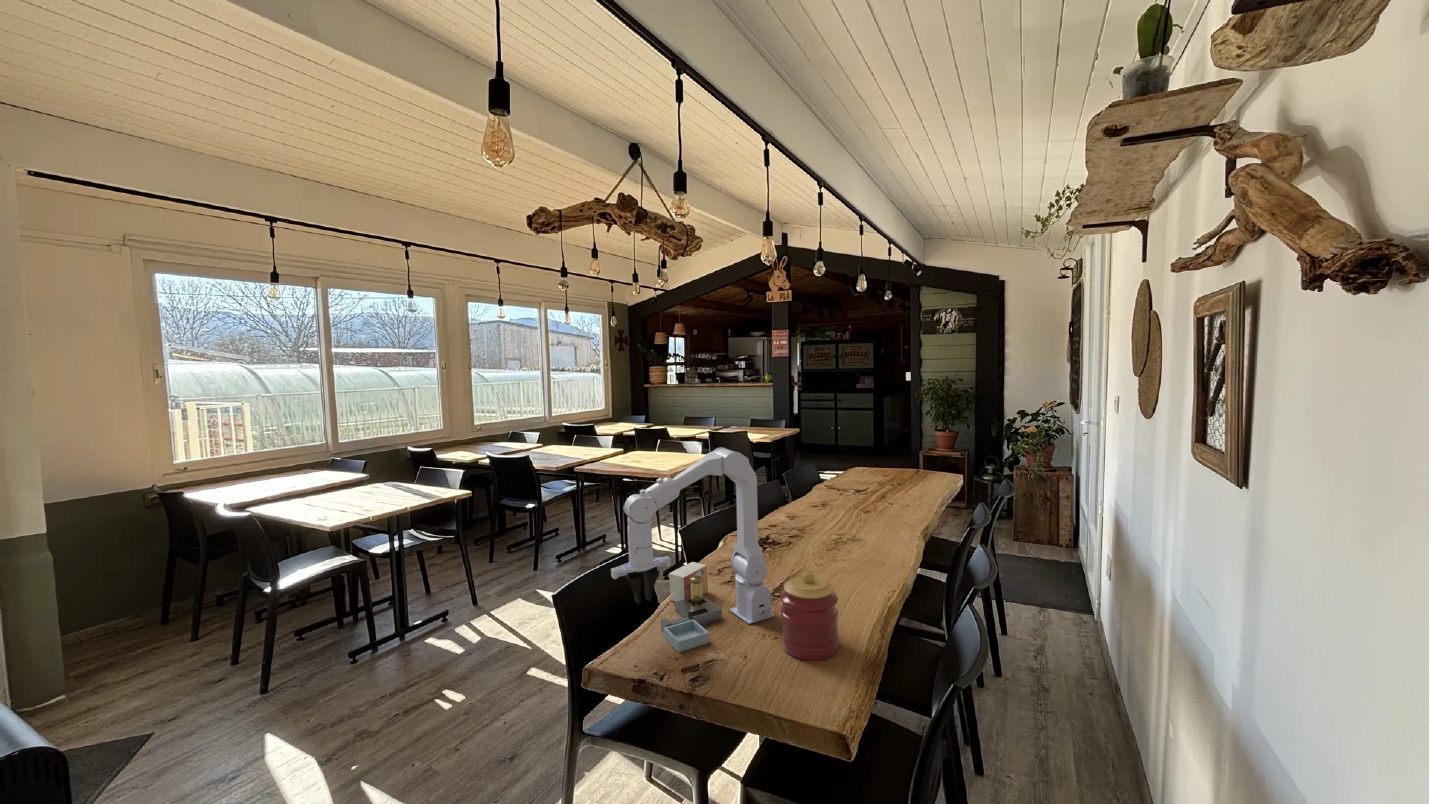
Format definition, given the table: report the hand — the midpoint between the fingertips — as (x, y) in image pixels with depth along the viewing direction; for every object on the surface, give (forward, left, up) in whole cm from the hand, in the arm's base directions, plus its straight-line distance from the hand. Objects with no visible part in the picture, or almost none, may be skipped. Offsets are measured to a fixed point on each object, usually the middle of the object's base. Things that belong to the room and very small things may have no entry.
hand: (643, 600), depth 134 cm
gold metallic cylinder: (+6, -18, -9) cm, 21 cm away
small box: (+18, -25, -5) cm, 31 cm away
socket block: (+4, -17, -9) cm, 19 cm away
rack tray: (-6, -8, -9) cm, 14 cm away
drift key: (0, -9, -9) cm, 13 cm away
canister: (-25, -31, -10) cm, 41 cm away
